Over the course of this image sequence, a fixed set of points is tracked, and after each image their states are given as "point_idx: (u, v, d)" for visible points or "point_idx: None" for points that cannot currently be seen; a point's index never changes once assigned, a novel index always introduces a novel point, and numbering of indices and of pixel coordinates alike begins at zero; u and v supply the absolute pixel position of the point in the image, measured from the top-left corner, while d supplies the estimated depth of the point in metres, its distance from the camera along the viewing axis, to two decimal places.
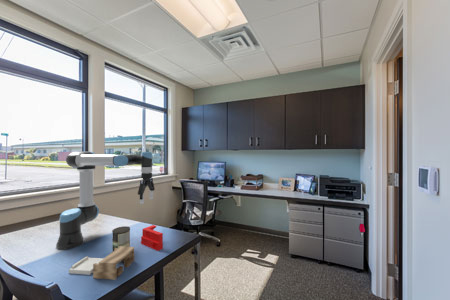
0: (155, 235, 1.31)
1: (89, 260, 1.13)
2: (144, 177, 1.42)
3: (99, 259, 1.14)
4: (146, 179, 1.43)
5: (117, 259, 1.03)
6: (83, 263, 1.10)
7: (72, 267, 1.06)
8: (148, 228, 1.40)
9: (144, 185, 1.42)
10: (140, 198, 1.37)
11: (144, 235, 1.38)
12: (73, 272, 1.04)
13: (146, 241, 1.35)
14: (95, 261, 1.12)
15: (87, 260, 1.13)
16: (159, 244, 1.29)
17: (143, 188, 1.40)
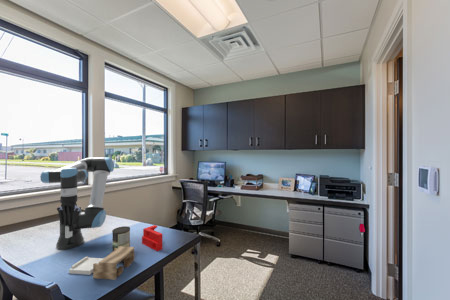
0: (155, 235, 1.31)
1: (89, 260, 1.13)
2: None
3: (99, 259, 1.14)
4: (62, 203, 1.11)
5: (117, 259, 1.03)
6: (83, 263, 1.10)
7: (72, 267, 1.06)
8: (149, 228, 1.40)
9: None
10: None
11: (145, 235, 1.38)
12: (73, 272, 1.04)
13: (146, 241, 1.35)
14: (95, 261, 1.12)
15: (87, 260, 1.13)
16: (159, 244, 1.29)
17: None
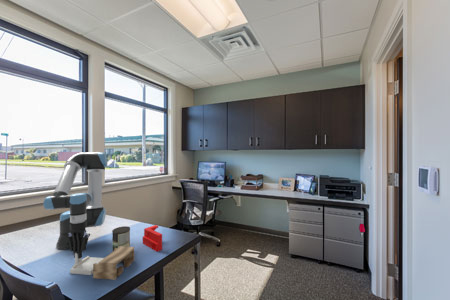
0: (155, 235, 1.30)
1: (90, 260, 1.13)
2: None
3: (100, 259, 1.14)
4: (71, 230, 1.10)
5: (117, 259, 1.03)
6: (84, 263, 1.10)
7: (73, 267, 1.06)
8: (149, 228, 1.40)
9: None
10: None
11: (145, 235, 1.38)
12: (74, 272, 1.04)
13: (147, 241, 1.35)
14: (96, 261, 1.12)
15: (88, 260, 1.13)
16: (158, 245, 1.28)
17: None
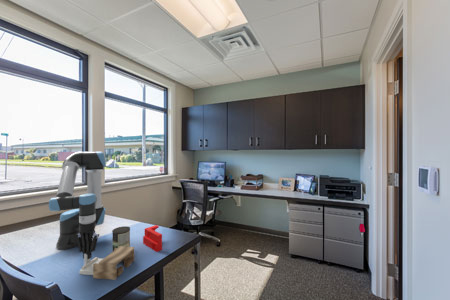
0: (155, 236, 1.30)
1: (98, 261, 1.13)
2: None
3: None
4: (80, 230, 1.10)
5: (117, 259, 1.03)
6: None
7: (82, 268, 1.05)
8: (150, 228, 1.40)
9: None
10: None
11: (146, 235, 1.38)
12: (84, 273, 1.04)
13: (147, 241, 1.35)
14: None
15: (97, 261, 1.13)
16: (158, 245, 1.28)
17: None
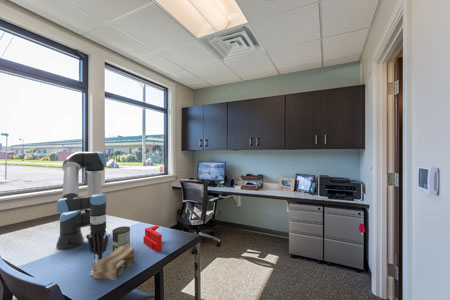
0: (154, 236, 1.30)
1: None
2: None
3: None
4: (91, 230, 1.09)
5: (117, 259, 1.03)
6: None
7: None
8: (150, 228, 1.40)
9: None
10: None
11: (146, 235, 1.38)
12: None
13: (147, 241, 1.35)
14: None
15: None
16: (158, 245, 1.27)
17: None
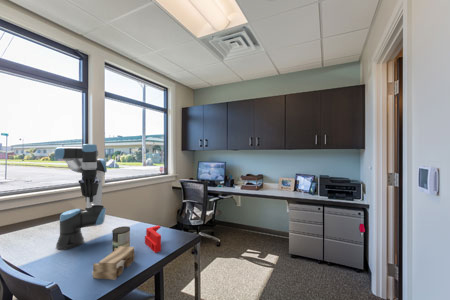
0: (154, 236, 1.29)
1: None
2: None
3: (121, 261, 1.13)
4: (83, 176, 1.21)
5: (117, 259, 1.03)
6: None
7: None
8: (151, 228, 1.40)
9: None
10: None
11: (147, 235, 1.38)
12: None
13: (148, 241, 1.35)
14: None
15: None
16: (157, 246, 1.26)
17: None
